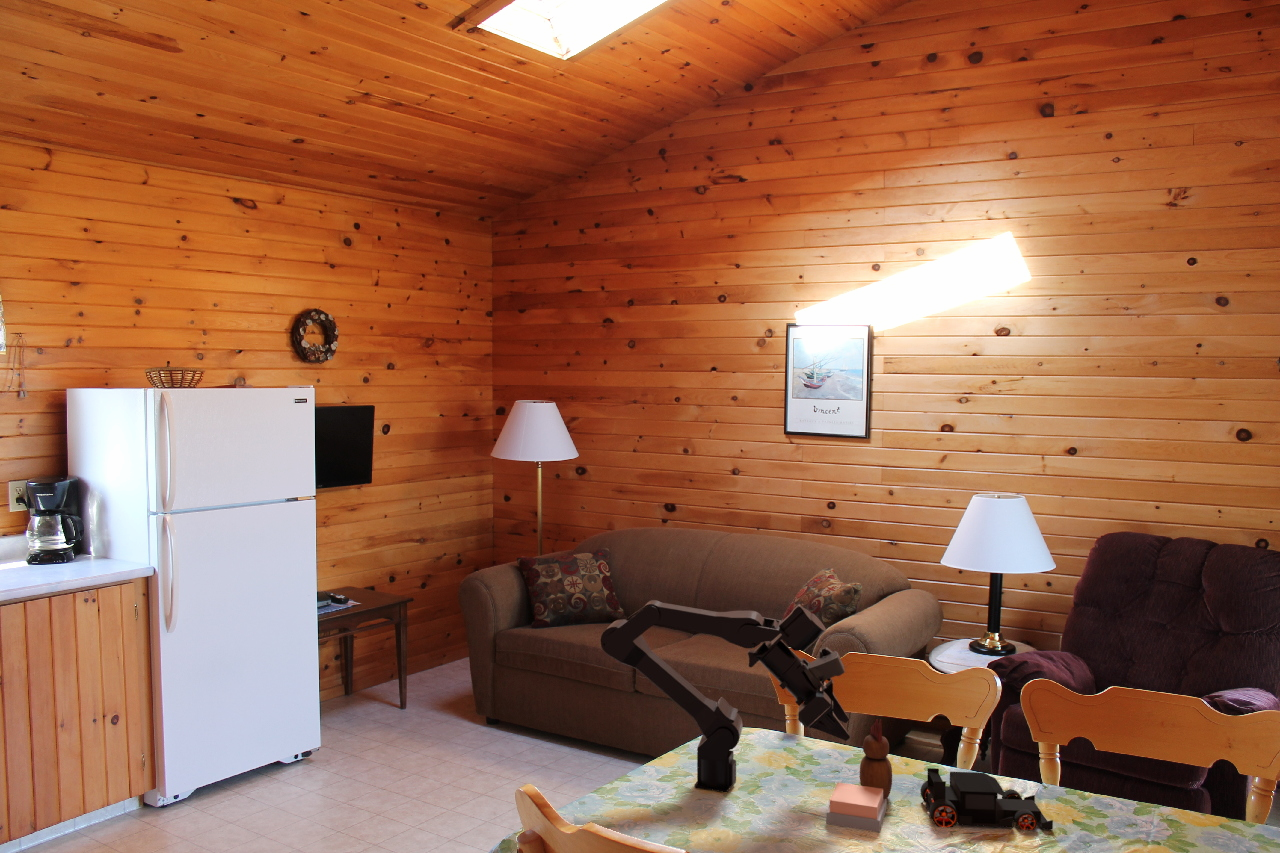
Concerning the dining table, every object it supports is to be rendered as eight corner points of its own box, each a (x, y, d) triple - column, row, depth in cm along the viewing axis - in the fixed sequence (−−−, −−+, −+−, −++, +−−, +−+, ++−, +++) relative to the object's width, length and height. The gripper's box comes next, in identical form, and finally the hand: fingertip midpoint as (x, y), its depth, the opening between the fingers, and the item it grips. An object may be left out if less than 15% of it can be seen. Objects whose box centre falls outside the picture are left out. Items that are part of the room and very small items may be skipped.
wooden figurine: (893, 806, 172) (893, 723, 171) (859, 803, 173) (860, 721, 172) (891, 790, 179) (891, 711, 178) (859, 788, 180) (859, 709, 179)
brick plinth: (826, 823, 165) (826, 800, 165) (835, 802, 174) (835, 780, 173) (879, 832, 162) (879, 809, 162) (886, 810, 170) (886, 788, 170)
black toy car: (1052, 834, 162) (1053, 791, 162) (931, 828, 164) (931, 786, 164) (1034, 807, 172) (1034, 767, 172) (919, 802, 174) (919, 762, 174)
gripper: (817, 651, 168) (882, 718, 166) (818, 625, 186) (877, 685, 184) (772, 694, 169) (836, 760, 168) (777, 664, 188) (835, 723, 186)
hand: (847, 729), depth 176 cm, fingers open, 9 cm apart
